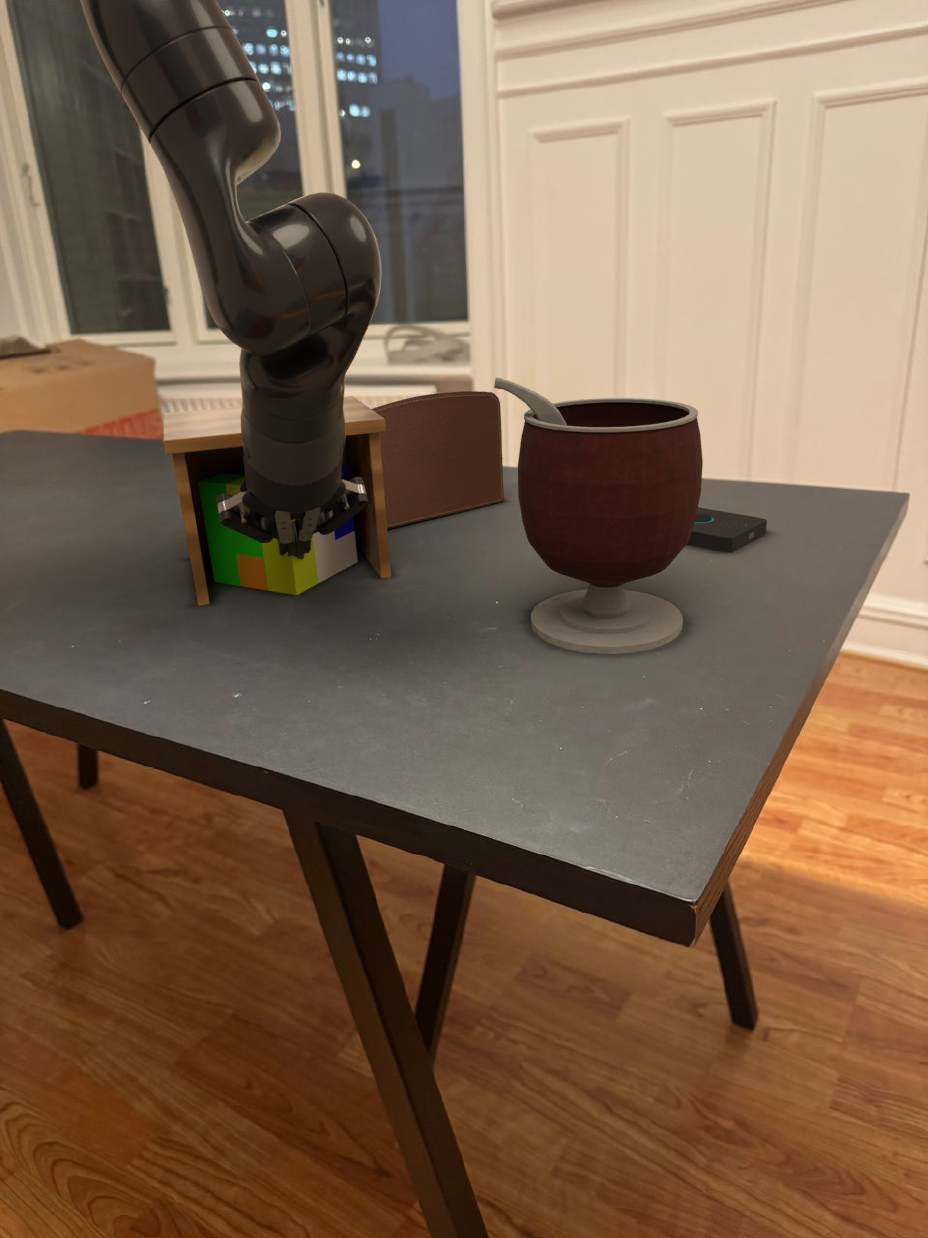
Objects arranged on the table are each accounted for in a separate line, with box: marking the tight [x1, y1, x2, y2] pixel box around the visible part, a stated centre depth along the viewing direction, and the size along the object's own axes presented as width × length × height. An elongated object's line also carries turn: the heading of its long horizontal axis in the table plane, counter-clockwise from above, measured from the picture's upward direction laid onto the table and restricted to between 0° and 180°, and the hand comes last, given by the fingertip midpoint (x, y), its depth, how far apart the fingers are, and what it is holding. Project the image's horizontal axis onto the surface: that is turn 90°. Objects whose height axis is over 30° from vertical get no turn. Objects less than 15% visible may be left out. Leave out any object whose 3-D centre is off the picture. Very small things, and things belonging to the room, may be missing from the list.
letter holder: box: [371, 390, 505, 531], centre depth 104 cm, size 10×20×14 cm, turn 126°
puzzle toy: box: [198, 464, 359, 596], centre depth 86 cm, size 10×10×10 cm
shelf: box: [162, 395, 392, 606], centre depth 86 cm, size 15×19×15 cm
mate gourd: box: [493, 376, 704, 655], centre depth 69 cm, size 16×14×20 cm
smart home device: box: [686, 506, 768, 554], centre depth 96 cm, size 8×2×20 cm
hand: (293, 551), depth 82 cm, fingers closed
